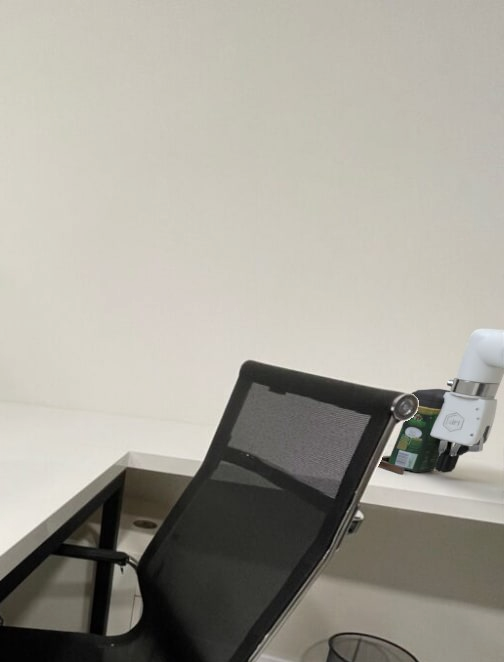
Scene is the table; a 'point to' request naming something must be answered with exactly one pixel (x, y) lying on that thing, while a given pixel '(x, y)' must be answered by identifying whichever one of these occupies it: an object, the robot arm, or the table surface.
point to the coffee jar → (419, 434)
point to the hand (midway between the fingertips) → (443, 470)
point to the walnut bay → (391, 465)
